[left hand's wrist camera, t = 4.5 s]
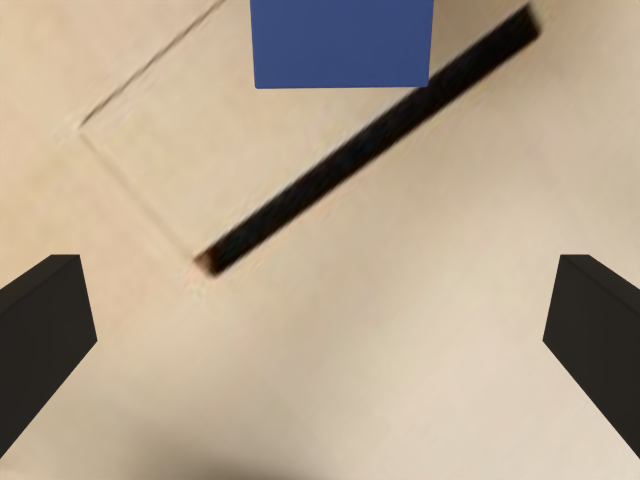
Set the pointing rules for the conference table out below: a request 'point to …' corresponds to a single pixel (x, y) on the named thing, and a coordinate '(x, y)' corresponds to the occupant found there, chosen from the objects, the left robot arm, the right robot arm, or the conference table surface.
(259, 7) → the box
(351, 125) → the conference table surface
